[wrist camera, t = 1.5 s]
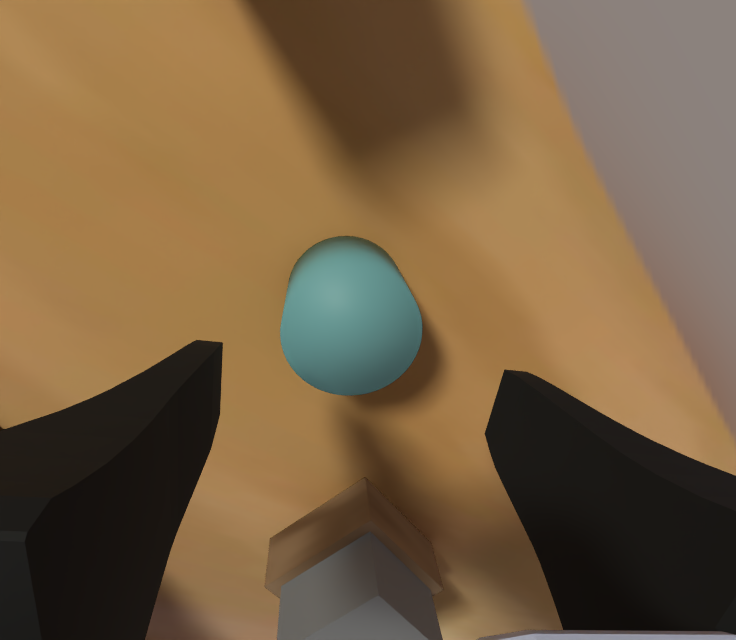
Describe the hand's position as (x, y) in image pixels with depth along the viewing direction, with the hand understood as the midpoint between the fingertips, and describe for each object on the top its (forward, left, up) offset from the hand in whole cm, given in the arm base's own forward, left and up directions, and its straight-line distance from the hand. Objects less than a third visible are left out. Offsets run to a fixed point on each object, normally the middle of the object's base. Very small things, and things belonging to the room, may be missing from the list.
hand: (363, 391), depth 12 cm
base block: (-8, -11, -8) cm, 16 cm away
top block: (-8, -11, -5) cm, 14 cm away
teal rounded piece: (0, 0, -8) cm, 8 cm away
